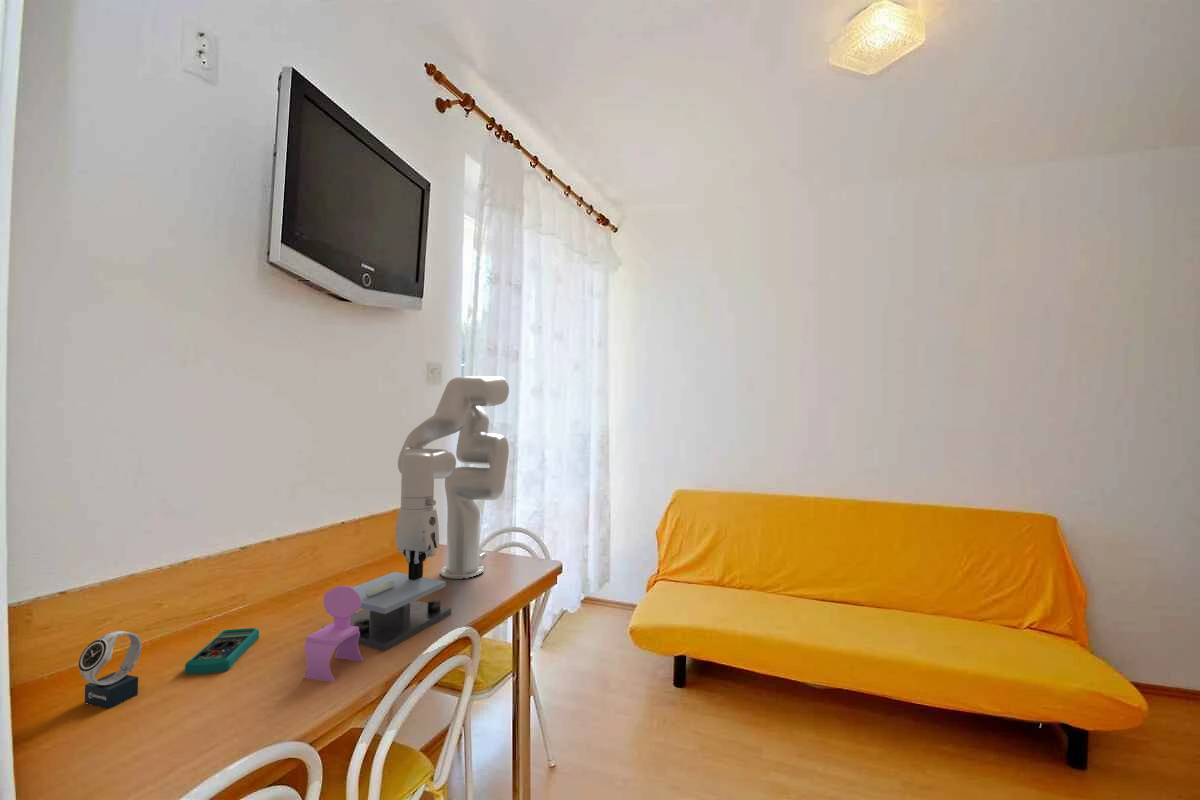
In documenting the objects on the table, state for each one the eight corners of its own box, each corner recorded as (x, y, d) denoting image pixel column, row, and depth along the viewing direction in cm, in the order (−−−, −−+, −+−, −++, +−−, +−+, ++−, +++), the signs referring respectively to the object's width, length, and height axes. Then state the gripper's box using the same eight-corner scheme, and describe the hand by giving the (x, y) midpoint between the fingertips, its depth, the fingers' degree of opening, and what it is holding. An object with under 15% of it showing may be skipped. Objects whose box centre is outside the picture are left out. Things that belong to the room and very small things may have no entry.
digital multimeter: (182, 678, 97) (182, 662, 97) (221, 642, 112) (222, 628, 112) (226, 675, 99) (227, 659, 99) (260, 639, 113) (260, 625, 113)
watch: (70, 710, 86) (71, 642, 86) (125, 684, 94) (127, 622, 94) (95, 715, 85) (96, 647, 85) (149, 689, 93) (150, 626, 93)
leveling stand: (393, 601, 135) (394, 576, 135) (451, 614, 128) (451, 587, 128) (321, 634, 115) (322, 604, 115) (384, 651, 108) (385, 619, 108)
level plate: (394, 576, 133) (394, 565, 133) (445, 586, 127) (445, 574, 127) (329, 601, 116) (330, 588, 116) (385, 614, 110) (385, 600, 110)
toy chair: (297, 678, 97) (299, 596, 97) (332, 656, 106) (333, 581, 106) (336, 684, 95) (338, 601, 96) (368, 661, 104) (369, 585, 104)
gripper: (452, 503, 130) (450, 578, 129) (404, 497, 135) (403, 569, 135) (431, 508, 123) (429, 587, 123) (382, 502, 128) (380, 578, 128)
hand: (415, 578), depth 129 cm, fingers closed
